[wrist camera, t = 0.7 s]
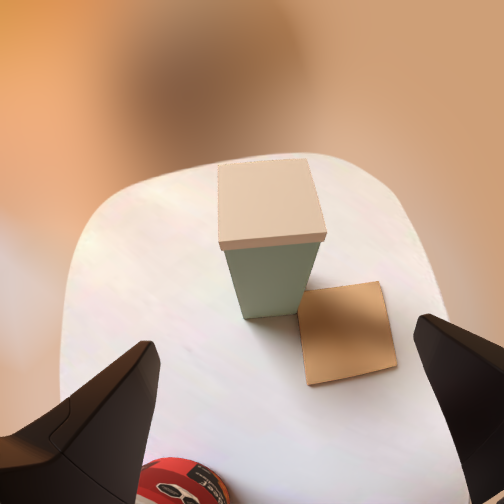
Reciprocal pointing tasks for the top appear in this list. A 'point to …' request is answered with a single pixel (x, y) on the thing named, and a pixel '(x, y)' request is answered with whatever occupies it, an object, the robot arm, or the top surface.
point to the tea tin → (269, 232)
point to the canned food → (179, 483)
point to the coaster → (344, 332)
